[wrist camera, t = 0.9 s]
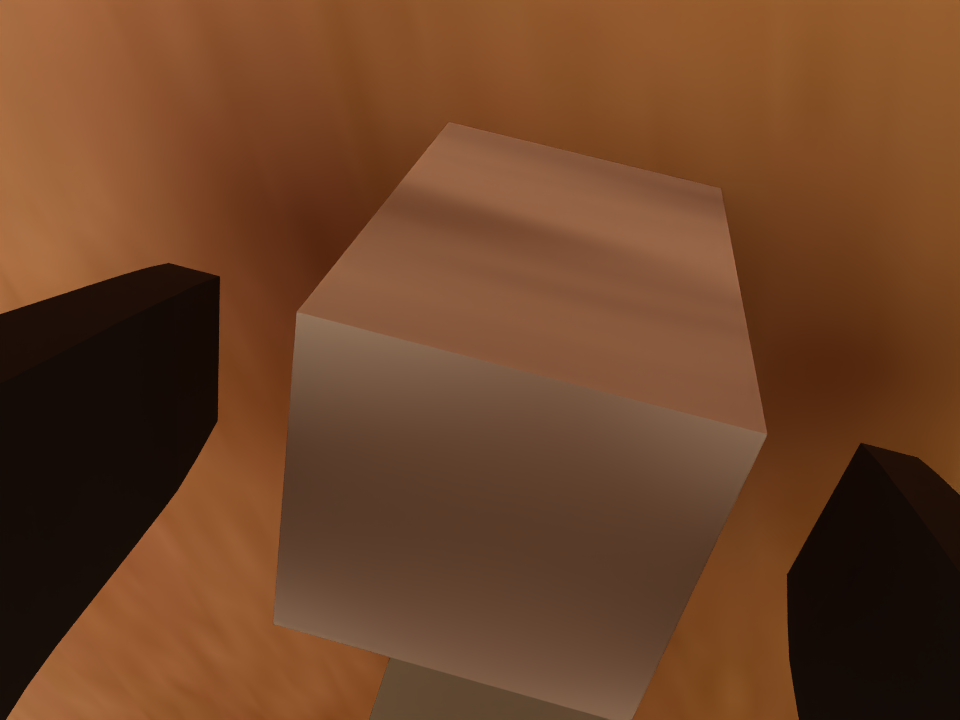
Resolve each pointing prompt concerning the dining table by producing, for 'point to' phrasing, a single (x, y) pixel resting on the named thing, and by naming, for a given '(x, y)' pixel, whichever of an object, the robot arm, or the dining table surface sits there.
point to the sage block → (456, 699)
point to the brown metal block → (518, 421)
